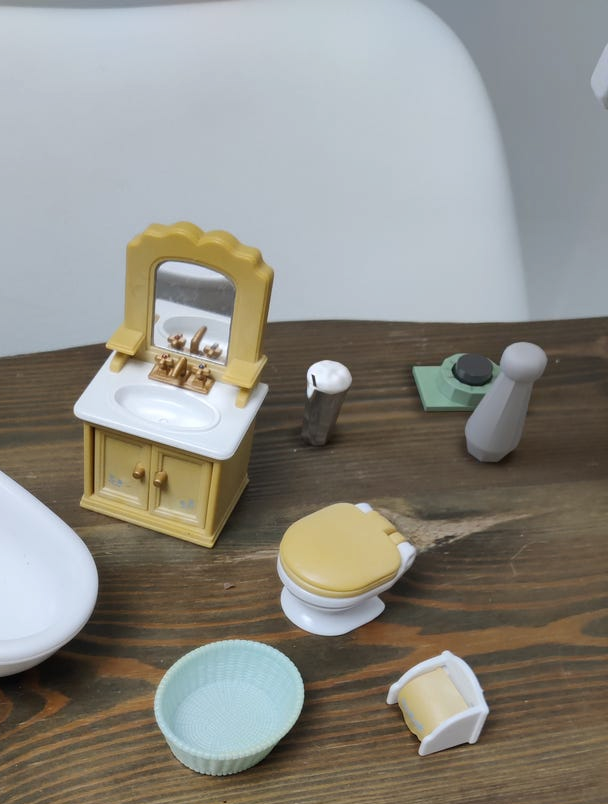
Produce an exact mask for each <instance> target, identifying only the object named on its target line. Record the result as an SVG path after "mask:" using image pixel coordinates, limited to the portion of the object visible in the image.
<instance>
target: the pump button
mask: <svg viewBox="0 0 608 804" xmlns="http://www.w3.org/2000/svg"><path fill="white" fill-rule="evenodd" d="M470 353H471V352H470ZM470 353H463V354H464V355H462V356H461V357H459V359H458V360H457V363H456V366H455V369H454V377H455V378H456V379H457V380H458V381H459V382H461V383H463V384H466V385H469V386H484V385H485V384H487V383H488V381H489V379H490V377H491V374H492V372H493V364H492V362H493V361H492V360H491V359H490V358H487V357H486V356H485V355H482V354H480V353H479V354H478V353H471V354H470ZM489 359H490V360H491V361H492V362H491V361H490V360H489Z"/></svg>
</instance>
